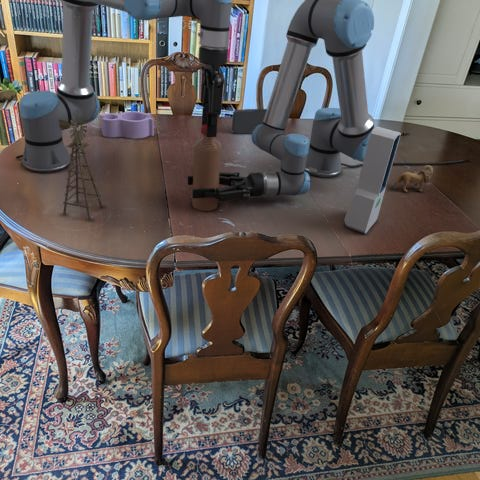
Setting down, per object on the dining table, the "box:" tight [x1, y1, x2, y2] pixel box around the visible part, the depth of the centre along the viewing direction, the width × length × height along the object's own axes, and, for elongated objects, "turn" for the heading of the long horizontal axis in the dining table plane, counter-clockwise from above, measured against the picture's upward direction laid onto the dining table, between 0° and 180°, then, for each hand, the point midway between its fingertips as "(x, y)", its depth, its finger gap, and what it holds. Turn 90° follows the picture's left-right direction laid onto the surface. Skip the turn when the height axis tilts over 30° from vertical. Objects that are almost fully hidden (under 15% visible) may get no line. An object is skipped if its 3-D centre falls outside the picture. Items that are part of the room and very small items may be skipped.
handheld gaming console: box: [231, 108, 267, 135], centre depth 202 cm, size 23×3×10 cm, turn 108°
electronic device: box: [343, 126, 402, 235], centre depth 137 cm, size 12×8×30 cm, turn 148°
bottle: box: [191, 134, 223, 212], centre depth 139 cm, size 8×8×24 cm
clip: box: [100, 110, 155, 140], centre depth 188 cm, size 20×12×7 cm, turn 109°
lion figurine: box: [392, 165, 434, 193], centre depth 167 cm, size 15×5×9 cm, turn 110°
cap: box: [200, 124, 207, 136], centre depth 133 cm, size 4×4×2 cm
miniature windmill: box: [59, 109, 104, 220], centre depth 128 cm, size 9×8×30 cm
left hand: (208, 133), depth 133 cm, fingers closed on cap, 4 cm apart
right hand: (190, 187), depth 141 cm, fingers closed on bottle, 8 cm apart
